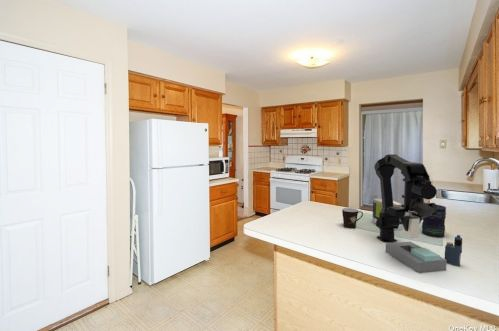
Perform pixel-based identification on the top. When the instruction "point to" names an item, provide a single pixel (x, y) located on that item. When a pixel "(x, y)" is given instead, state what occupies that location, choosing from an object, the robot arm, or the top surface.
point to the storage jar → (435, 223)
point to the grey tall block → (412, 227)
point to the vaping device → (454, 251)
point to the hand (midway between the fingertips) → (410, 230)
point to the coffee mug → (350, 217)
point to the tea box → (378, 207)
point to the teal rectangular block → (425, 254)
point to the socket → (413, 257)
